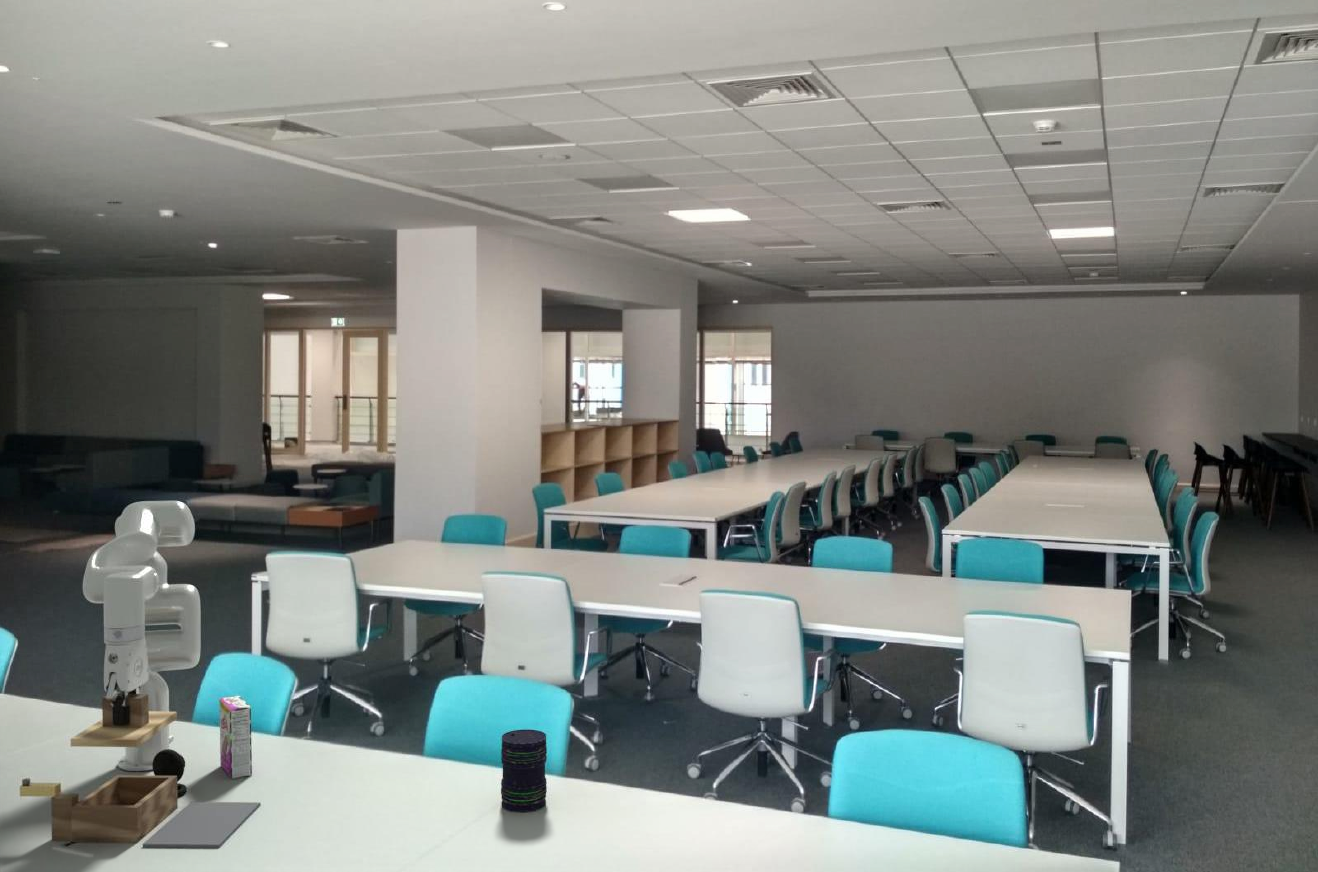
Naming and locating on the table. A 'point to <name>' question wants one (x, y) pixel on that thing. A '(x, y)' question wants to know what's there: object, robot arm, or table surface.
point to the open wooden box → (115, 810)
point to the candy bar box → (235, 737)
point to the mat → (203, 825)
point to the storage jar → (523, 771)
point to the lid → (125, 736)
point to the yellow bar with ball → (39, 789)
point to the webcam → (170, 767)
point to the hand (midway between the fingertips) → (125, 721)
